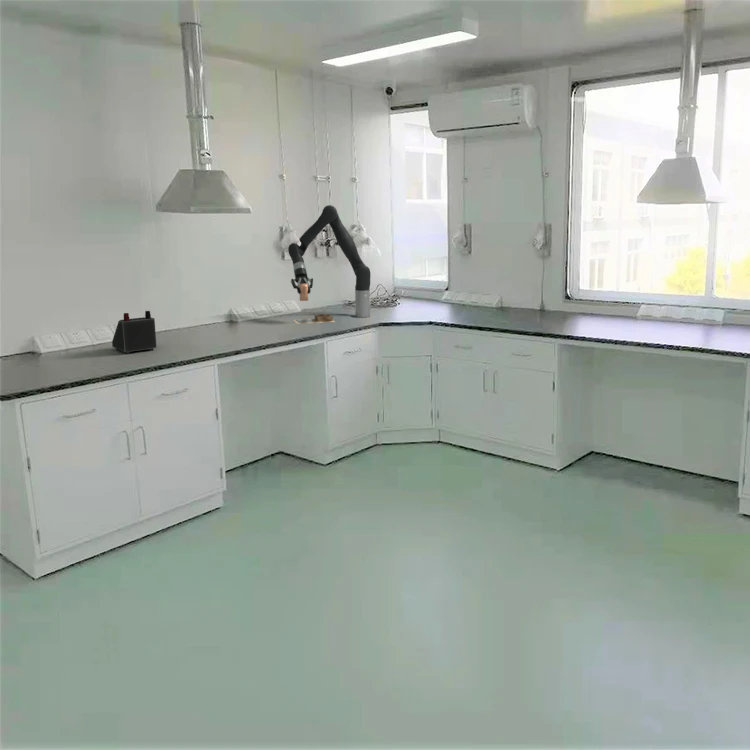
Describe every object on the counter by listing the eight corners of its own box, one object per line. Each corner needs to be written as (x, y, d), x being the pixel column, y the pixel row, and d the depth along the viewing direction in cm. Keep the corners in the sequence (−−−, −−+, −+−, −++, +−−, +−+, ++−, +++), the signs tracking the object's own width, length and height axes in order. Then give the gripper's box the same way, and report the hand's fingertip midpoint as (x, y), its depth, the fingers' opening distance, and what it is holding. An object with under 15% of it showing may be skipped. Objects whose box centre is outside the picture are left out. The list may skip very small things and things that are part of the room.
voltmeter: (143, 345, 359) (140, 307, 354) (156, 350, 347) (154, 311, 342) (112, 349, 349) (109, 310, 344) (125, 355, 337) (121, 314, 332)
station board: (330, 319, 437) (330, 313, 436) (335, 323, 424) (335, 316, 423) (292, 321, 430) (292, 315, 429) (297, 325, 417) (296, 318, 416)
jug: (307, 299, 425) (306, 283, 423) (309, 301, 418) (309, 284, 416) (298, 299, 424) (298, 283, 421) (301, 301, 417) (301, 285, 414)
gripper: (289, 267, 422) (293, 289, 414) (312, 266, 426) (317, 288, 418) (287, 275, 428) (292, 297, 420) (310, 274, 432) (315, 296, 424)
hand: (304, 292), depth 419 cm, fingers closed on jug, 5 cm apart
